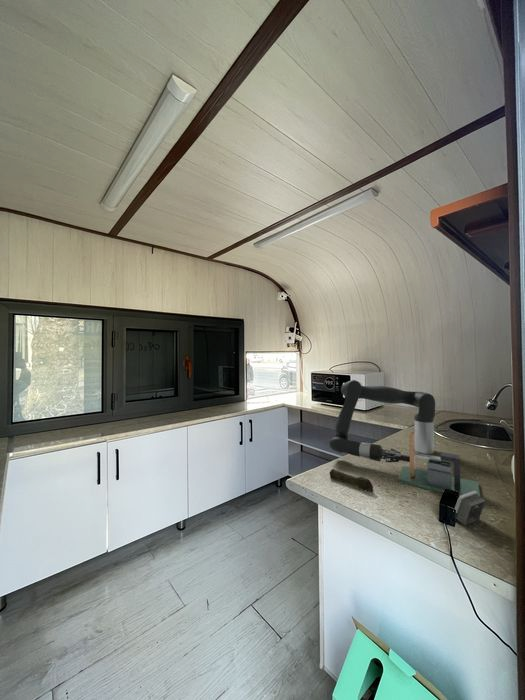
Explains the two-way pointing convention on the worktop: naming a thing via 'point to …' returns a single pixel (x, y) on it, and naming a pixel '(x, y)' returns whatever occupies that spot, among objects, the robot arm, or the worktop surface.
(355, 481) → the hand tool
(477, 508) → the electrical switch
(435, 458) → the upright wooden plank
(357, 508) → the worktop surface
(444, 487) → the base
